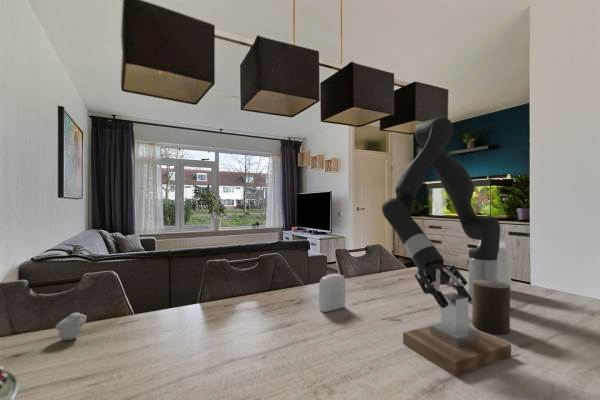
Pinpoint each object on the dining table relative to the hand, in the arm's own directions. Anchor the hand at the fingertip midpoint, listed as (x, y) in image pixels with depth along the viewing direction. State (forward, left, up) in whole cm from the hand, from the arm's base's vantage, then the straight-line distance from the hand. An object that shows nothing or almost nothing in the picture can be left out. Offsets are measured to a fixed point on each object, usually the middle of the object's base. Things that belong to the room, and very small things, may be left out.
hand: (457, 304), depth 76 cm
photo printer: (+15, -39, -12) cm, 43 cm away
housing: (0, -1, -9) cm, 9 cm away
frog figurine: (+94, -48, -12) cm, 106 cm away
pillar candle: (-22, -6, -12) cm, 26 cm away
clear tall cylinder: (-60, -30, -12) cm, 68 cm away
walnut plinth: (0, -1, -12) cm, 12 cm away
